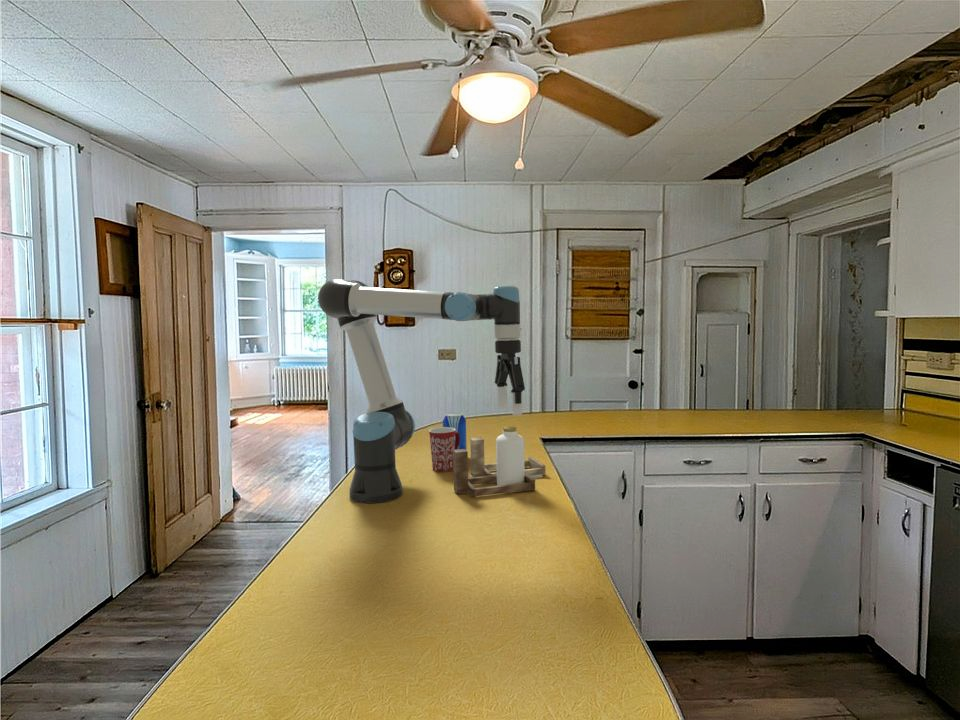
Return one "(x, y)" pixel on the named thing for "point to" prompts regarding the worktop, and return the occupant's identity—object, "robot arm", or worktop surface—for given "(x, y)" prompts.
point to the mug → (443, 447)
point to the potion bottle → (510, 457)
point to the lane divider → (536, 476)
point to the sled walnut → (482, 479)
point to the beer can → (457, 426)
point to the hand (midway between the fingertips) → (509, 411)
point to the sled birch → (483, 469)
